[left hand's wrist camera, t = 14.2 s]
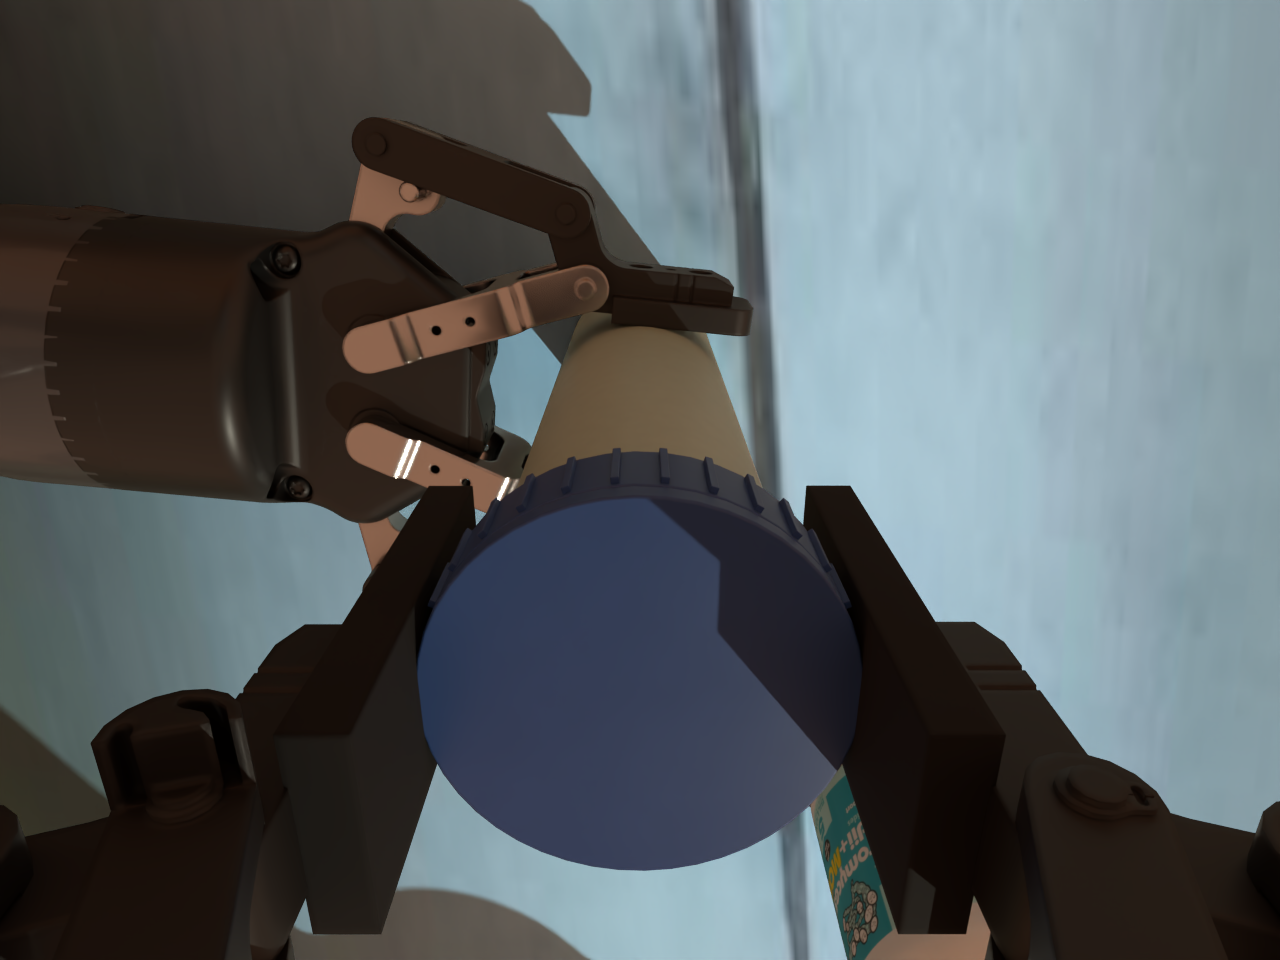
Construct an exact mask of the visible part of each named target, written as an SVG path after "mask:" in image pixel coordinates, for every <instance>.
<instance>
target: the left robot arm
mask: <svg viewBox="0 0 1280 960" xmlns="http://www.w3.org/2000/svg"><path fill="white" fill-rule="evenodd" d="M803 526H804V527H805V529H806V530H807V531H809V530H810V529H813V530H814V532H815V533H816V535H817V537H818V539H819V541H820V544H821V546H822V548H823V550H824V552H825V554H826V557H827V559H828V561H829V563H832V564H833V566H834V568H835V570H836V572H837V574H838V577H839V579H840V581H841V583H842V585H843V587H844V589H845V592H846V594H847V596H848V598H849V600H850V603H851V605H852V607H851V608H848V609H847V611H848V613H849V616H850V618H851V620H852V622H853V625H854V629H855V632H856V635H857V638H858V641H859V645H860V649H861V655H862V664H863V668H862V679H861V688H860V696H859V705H858V713H857V722H856V729H855V736H854V739H853V742H852V745H851V747H850V749H849V751H848V753H847V755H846V757H845V759H844V761H843V763H842V765H843V768H844V771H845V774H846V777H847V780H848V784H849V787H850V790H851V793H852V796H853V799H854V802H855V805H856V808H857V811H858V814H859V817H860V820H861V823H862V826H863V829H864V832H865V835H866V838H867V841H868V844H869V847H870V850H871V853H872V856H873V860H874V863H875V866H876V869H877V872H878V875H879V878H880V881H881V884H882V887H883V890H884V893H885V896H886V899H887V902H888V905H889V908H890V911H891V914H892V917H893V920H894V923H895V926H896V929H897V932H898V934H966V932H967V927H968V922H969V917H970V912H971V907H972V902H973V897H974V896H975V899H976V901H977V903H978V905H979V908H980V910H981V912H982V914H983V916H984V919H985V921H986V923H987V925H988V928H989V930H990V937H989V941H988V946H987V951H986V955H985V960H1280V801H1279V802H1275V803H1274V804H1273V805H1271V806H1270V807H1269V808H1267V809H1266V810H1265V811H1263V814H1262V817H1261V819H1260V822H1259V825H1258V828H1257V831H1256V833H1252V832H1247V831H1243V830H1238V829H1234V828H1229V827H1225V826H1220V825H1216V824H1211V823H1207V822H1202V821H1198V820H1193V819H1189V818H1186V817H1182V816H1179V815H1175V814H1172V813H1170V811H1169V809H1168V808H1167V806H1166V805H1165V803H1164V802H1163V800H1162V799H1161V797H1160V796H1159V794H1158V793H1157V791H1155V790H1154V789H1153V788H1152V787H1150V786H1149V785H1148V784H1147V783H1145V782H1144V781H1143V780H1142V779H1141V778H1139V777H1138V776H1137V775H1136V774H1134V773H1132V772H1130V771H1128V770H1126V769H1124V768H1122V767H1120V766H1118V765H1116V764H1114V763H1112V762H1110V761H1107V760H1103V759H1100V758H1096V757H1093V756H1089V755H1087V753H1086V752H1085V751H1084V749H1083V748H1082V746H1081V745H1080V744H1079V742H1078V741H1077V740H1076V738H1075V737H1074V736H1073V734H1072V733H1071V732H1070V730H1069V729H1068V728H1067V726H1066V725H1065V724H1064V722H1063V721H1062V719H1061V718H1060V717H1059V715H1058V714H1057V713H1056V711H1055V710H1054V709H1053V707H1052V706H1051V705H1050V703H1049V702H1048V701H1047V699H1046V698H1045V697H1044V695H1043V694H1042V692H1041V691H1040V690H1036V684H1035V683H1034V682H1033V680H1032V679H1031V678H1030V676H1029V675H1028V674H1027V672H1026V671H1025V670H1022V665H1021V664H1020V663H1019V661H1018V660H1017V659H1016V657H1015V656H1014V655H1013V653H1012V652H1011V651H1010V649H1009V648H1008V647H1007V645H1006V644H1005V643H1004V642H1003V641H1002V640H1000V639H999V638H997V637H996V636H994V635H993V634H992V633H990V632H989V631H987V630H986V629H984V628H983V627H981V626H980V625H978V624H977V623H975V622H935V620H934V619H933V617H932V616H931V614H930V612H929V611H928V609H927V608H926V606H925V604H924V603H923V601H922V600H921V598H920V596H919V595H918V593H917V592H916V590H915V588H914V587H913V585H912V584H911V582H910V580H909V579H908V577H907V576H906V574H905V572H904V571H903V569H902V568H901V566H900V564H899V563H898V561H897V560H896V558H895V556H894V555H893V553H892V552H891V550H890V548H889V547H888V545H887V544H886V542H885V541H884V539H883V537H882V536H881V534H880V533H879V531H878V529H877V528H876V526H875V525H874V523H873V521H872V520H871V518H870V517H869V515H868V513H867V512H866V510H865V509H864V507H863V505H862V504H861V502H860V501H859V499H858V497H857V496H856V494H855V493H854V491H853V489H852V488H851V486H806V497H805V509H804V522H803ZM475 527H476V520H475V507H474V495H473V486H428V488H427V490H426V491H425V493H424V494H423V496H422V498H421V499H420V501H419V502H418V504H417V506H416V507H415V509H414V510H413V512H412V514H411V515H410V517H409V518H408V520H407V522H406V523H405V525H404V526H403V528H402V530H401V531H400V533H399V534H398V536H397V538H396V539H395V541H394V542H393V544H392V546H391V547H390V549H389V550H388V552H387V554H386V555H385V557H384V558H383V560H382V561H381V563H380V565H379V566H378V568H377V569H376V571H375V573H374V574H373V576H372V577H371V579H370V581H369V582H368V584H367V585H366V587H365V589H364V590H363V592H362V593H361V595H360V597H359V598H358V600H357V601H356V603H355V605H354V606H353V608H352V609H351V611H350V613H349V614H348V616H347V617H346V619H345V621H344V622H343V624H305V625H304V626H302V627H301V628H299V629H298V630H296V631H295V632H293V633H292V634H290V635H289V636H287V637H286V638H285V639H283V640H282V641H280V642H279V643H277V644H276V645H275V646H274V647H273V649H272V650H271V651H270V653H269V654H268V656H267V657H266V658H265V660H264V661H263V662H262V664H261V665H260V666H259V668H258V673H254V675H253V676H252V677H251V679H250V680H249V681H248V683H247V684H246V685H245V687H244V688H243V689H244V691H243V693H240V694H239V695H238V696H237V698H236V699H234V698H233V697H232V696H231V695H229V694H228V693H224V692H219V691H215V690H210V689H198V690H182V691H178V692H174V693H170V694H166V695H162V696H158V697H154V698H152V699H149V700H147V701H145V702H143V703H140V704H138V705H136V706H134V707H131V708H129V709H127V710H125V711H124V712H123V713H121V714H120V715H118V716H117V717H116V718H114V719H113V720H111V721H110V722H109V723H107V724H106V725H104V726H103V728H102V729H101V730H100V732H99V733H98V734H97V735H96V737H95V738H94V739H93V741H92V742H91V746H92V750H93V753H94V756H95V759H96V763H97V766H98V769H99V773H100V776H101V779H102V783H103V786H104V789H105V792H106V796H107V799H108V802H109V806H110V809H111V813H110V815H109V817H106V818H102V819H99V820H96V821H92V822H88V823H84V824H80V825H75V826H71V827H66V828H62V829H57V830H53V831H48V832H44V833H40V834H35V835H31V836H26V837H24V834H23V831H22V828H21V825H20V823H19V820H18V817H17V815H16V814H14V813H13V812H12V811H11V810H9V809H8V808H7V807H5V806H4V805H0V960H295V958H294V951H293V946H292V941H291V937H290V932H291V930H292V928H293V925H294V923H295V921H296V919H297V916H298V914H299V912H300V910H301V907H302V905H303V903H304V901H305V899H306V902H307V907H308V912H309V917H310V922H311V927H312V932H313V934H381V933H382V930H383V927H384V924H385V921H386V918H387V915H388V912H389V909H390V906H391V903H392V900H393V897H394V893H395V890H396V887H397V884H398V881H399V878H400V875H401V872H402V869H403V866H404V863H405V860H406V857H407V854H408V851H409V848H410V845H411V842H412V839H413V836H414V833H415V830H416V827H417V824H418V821H419V818H420V814H421V811H422V808H423V805H424V802H425V799H426V796H427V793H428V790H429V787H430V784H431V781H432V778H433V775H434V772H435V769H436V766H437V762H436V760H435V758H434V757H433V755H432V753H431V751H430V748H429V746H428V743H427V741H426V738H425V735H424V728H423V720H422V711H421V703H420V694H419V686H418V677H417V654H418V651H419V647H420V643H421V639H422V635H423V631H424V629H425V626H426V624H427V621H428V619H429V617H430V614H431V612H432V610H433V608H431V607H428V603H429V601H430V598H431V596H432V594H433V592H434V590H435V588H436V586H437V583H438V581H439V579H440V577H441V575H442V573H443V571H444V569H445V566H446V564H447V562H449V563H450V562H451V559H452V557H453V555H454V553H455V551H456V549H457V546H458V544H459V542H460V540H461V538H462V536H463V533H464V532H465V530H466V529H467V528H469V529H471V530H473V529H474V528H475Z"/></svg>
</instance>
